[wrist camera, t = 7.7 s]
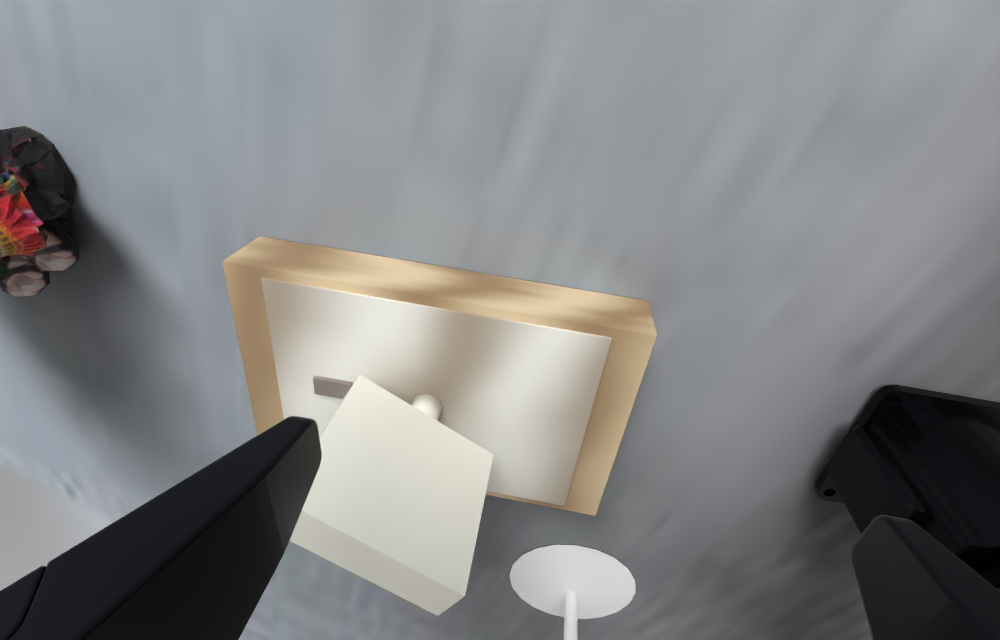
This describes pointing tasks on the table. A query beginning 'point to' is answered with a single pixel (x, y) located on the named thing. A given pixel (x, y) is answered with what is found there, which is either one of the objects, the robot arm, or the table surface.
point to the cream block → (396, 497)
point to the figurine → (33, 212)
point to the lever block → (447, 357)
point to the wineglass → (572, 583)
